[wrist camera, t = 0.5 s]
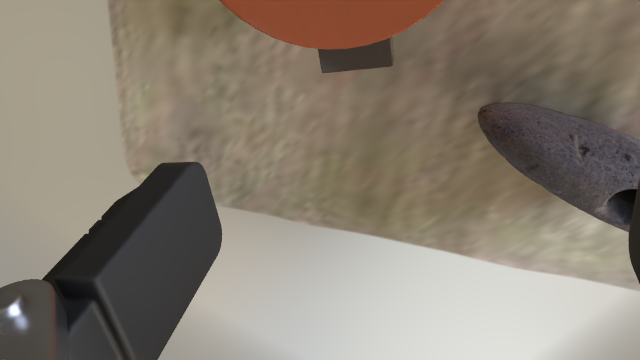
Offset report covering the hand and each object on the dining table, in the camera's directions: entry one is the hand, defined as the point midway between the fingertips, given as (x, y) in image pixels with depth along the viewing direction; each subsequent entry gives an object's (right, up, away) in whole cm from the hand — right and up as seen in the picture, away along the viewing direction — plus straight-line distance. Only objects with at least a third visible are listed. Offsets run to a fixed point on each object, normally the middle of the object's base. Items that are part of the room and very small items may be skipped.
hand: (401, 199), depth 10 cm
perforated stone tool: (+17, +4, +28) cm, 33 cm away
